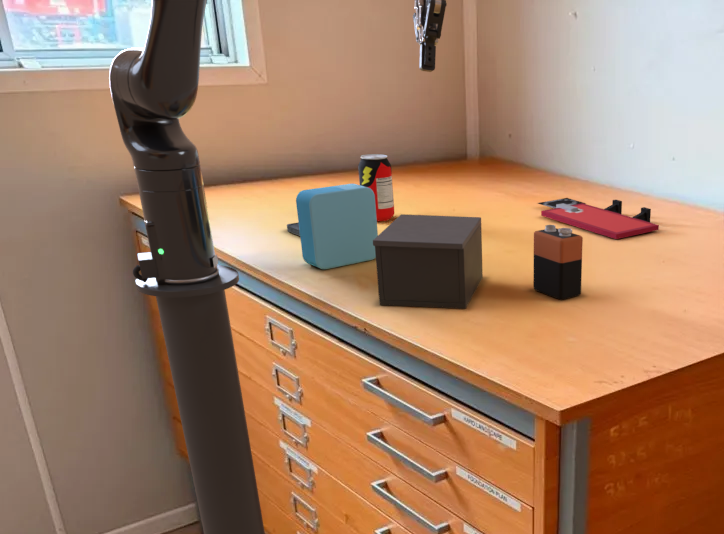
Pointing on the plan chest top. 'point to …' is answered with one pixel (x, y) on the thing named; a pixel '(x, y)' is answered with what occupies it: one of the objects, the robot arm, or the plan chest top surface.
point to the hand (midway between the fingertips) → (427, 70)
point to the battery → (557, 262)
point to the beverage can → (378, 183)
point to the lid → (428, 232)
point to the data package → (337, 225)
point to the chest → (429, 274)
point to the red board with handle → (599, 218)
